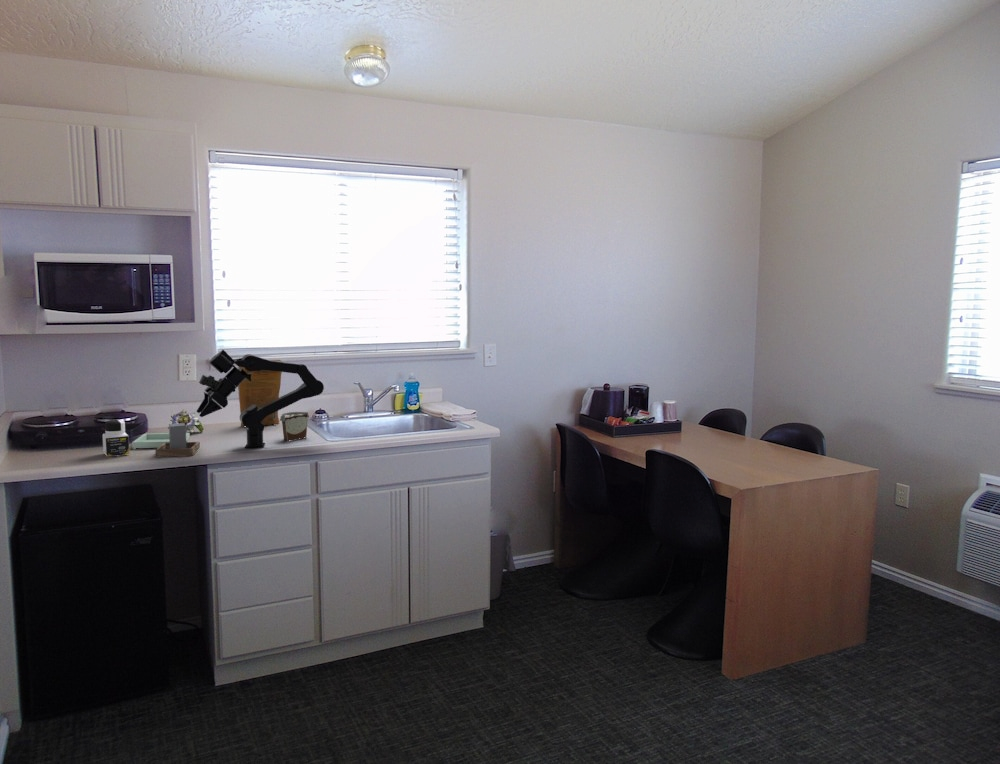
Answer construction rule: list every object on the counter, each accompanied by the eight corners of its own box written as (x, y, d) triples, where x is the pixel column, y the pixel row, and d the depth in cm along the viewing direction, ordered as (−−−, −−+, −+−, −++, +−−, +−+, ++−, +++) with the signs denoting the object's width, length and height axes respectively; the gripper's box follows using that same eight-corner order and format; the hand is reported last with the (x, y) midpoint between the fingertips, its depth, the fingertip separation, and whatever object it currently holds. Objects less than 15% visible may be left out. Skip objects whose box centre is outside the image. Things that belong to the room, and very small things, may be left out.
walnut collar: (164, 449, 263) (164, 442, 263) (199, 448, 265) (199, 441, 265) (155, 456, 251) (155, 449, 251) (192, 455, 254) (192, 448, 253)
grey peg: (170, 452, 259) (168, 424, 258) (185, 450, 262) (184, 423, 260) (171, 454, 255) (169, 426, 254) (186, 453, 257) (185, 425, 256)
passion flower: (184, 449, 289) (165, 427, 283) (181, 439, 298) (162, 417, 292) (209, 432, 291) (190, 409, 285) (205, 422, 300) (187, 400, 294)
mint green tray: (144, 440, 278) (144, 433, 277) (189, 439, 281) (189, 432, 281) (132, 449, 262) (132, 442, 262) (180, 448, 265) (179, 441, 265)
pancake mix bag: (285, 424, 314) (284, 360, 310) (240, 428, 303) (238, 361, 300) (281, 422, 319) (279, 358, 316) (236, 426, 309) (234, 360, 306)
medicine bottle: (106, 457, 249) (104, 423, 247) (103, 453, 255) (101, 419, 253) (129, 455, 253) (128, 421, 252) (126, 451, 259) (124, 418, 257)
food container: (298, 435, 292) (298, 410, 291) (309, 437, 289) (308, 412, 288) (273, 440, 282) (273, 414, 281) (284, 442, 279) (283, 416, 277)
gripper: (210, 364, 269) (178, 395, 265) (216, 369, 252) (183, 403, 248) (233, 384, 273) (202, 415, 269) (241, 391, 257) (208, 424, 253)
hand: (198, 414), depth 260 cm, fingers open, 9 cm apart
